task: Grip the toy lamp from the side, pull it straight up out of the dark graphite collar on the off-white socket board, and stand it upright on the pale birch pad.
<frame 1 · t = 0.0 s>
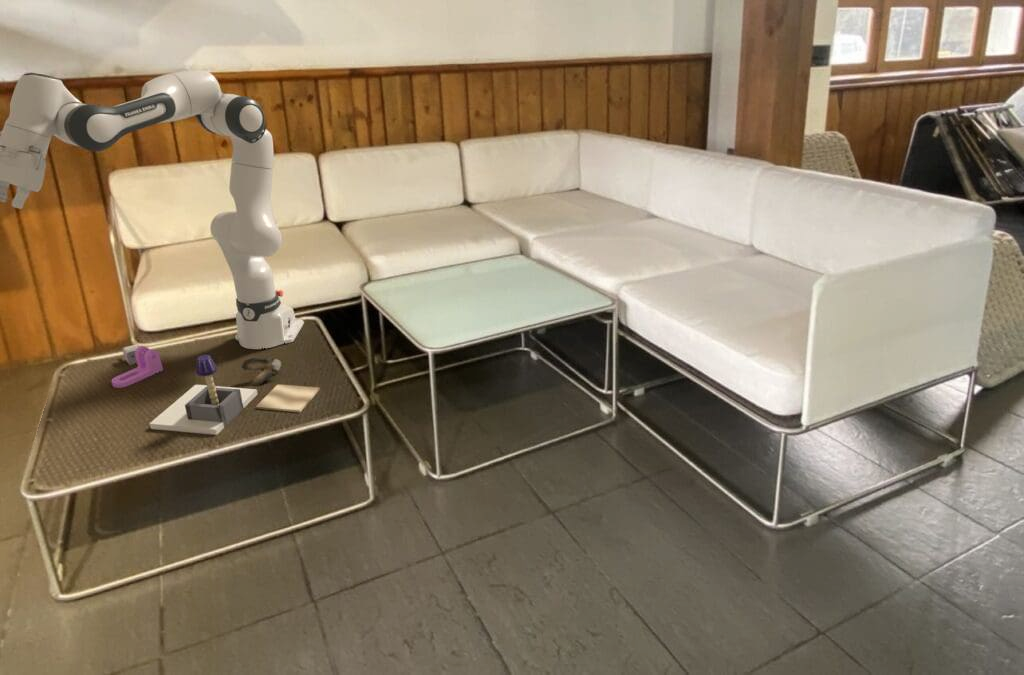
hand: (8, 204, 166), 54 cm above the table, tool tilted 30°, fingers open, 8 cm apart
toy lamp: (217, 416, 187), resting in socket board
socket board: (206, 410, 190), on the table
birch pad: (288, 398, 194), on the table
bracket: (136, 378, 207), on the table
usb wall charger: (133, 360, 218), on the table
eagle figurine: (264, 378, 205), on the table
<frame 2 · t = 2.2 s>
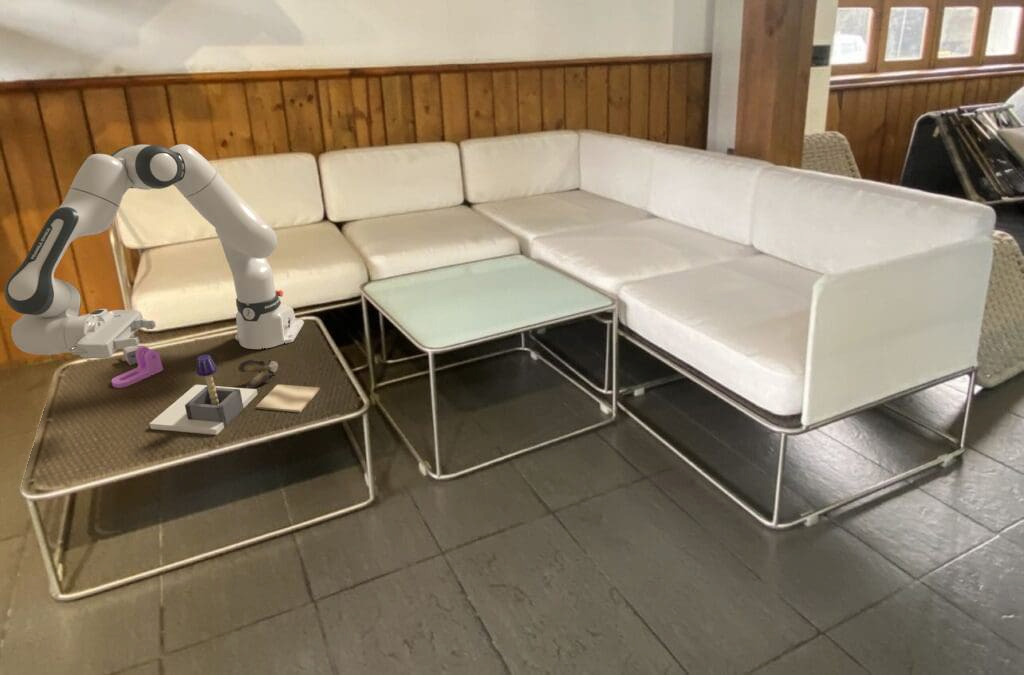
hand: (146, 332, 177), 24 cm above the table, tool horizontal, fingers open, 8 cm apart
eagle figurine: (261, 380, 205), on the table
everything else where it was.
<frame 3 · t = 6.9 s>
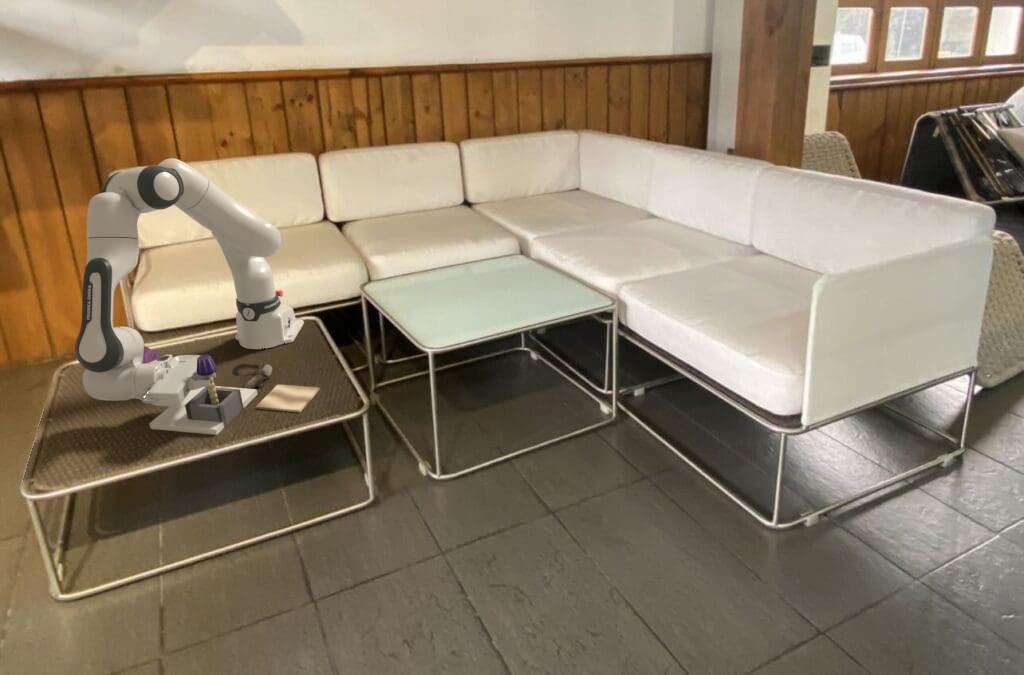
hand: (212, 379, 183), 11 cm above the table, tool horizontal, fingers closed on toy lamp
toy lamp: (217, 416, 187), resting in socket board, touching gripper
eagle figurine: (255, 384, 203), on the table
everything else where it was.
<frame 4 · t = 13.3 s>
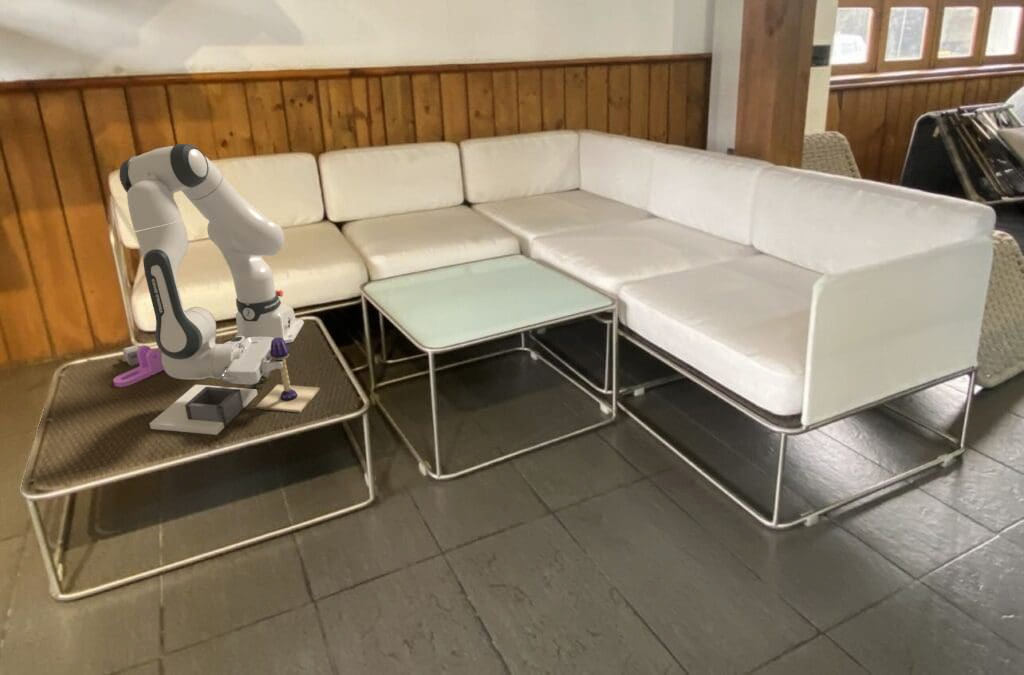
hand: (285, 359, 190), 12 cm above the table, tool horizontal, fingers open, 4 cm apart
toy lamp: (287, 398, 194), resting on birch pad
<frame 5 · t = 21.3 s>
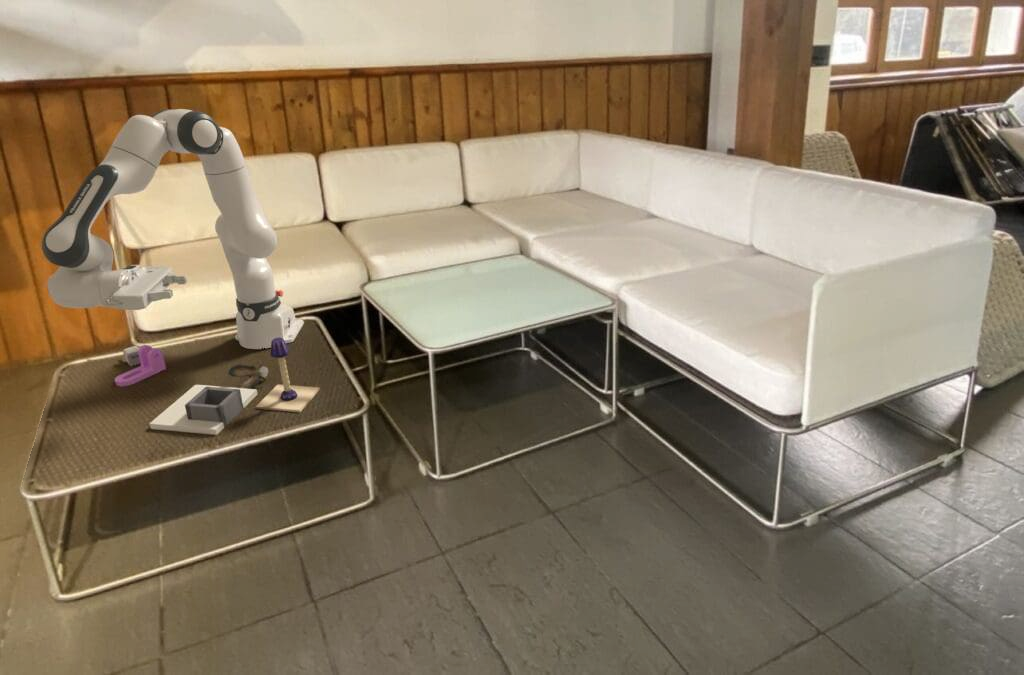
hand: (179, 286, 180), 32 cm above the table, tool horizontal, fingers open, 8 cm apart
at the end: toy lamp inside the target area on the birch pad (0.3 cm from its centre), point 0.4 cm above the birch pad's base; toy lamp tilted 0°; the gripper is holding nothing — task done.
